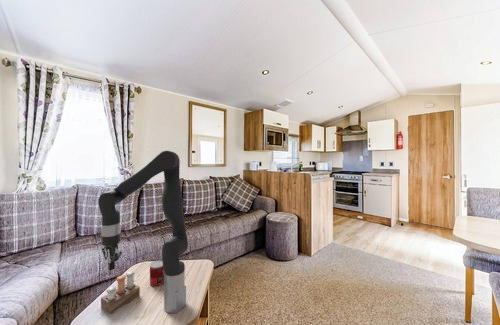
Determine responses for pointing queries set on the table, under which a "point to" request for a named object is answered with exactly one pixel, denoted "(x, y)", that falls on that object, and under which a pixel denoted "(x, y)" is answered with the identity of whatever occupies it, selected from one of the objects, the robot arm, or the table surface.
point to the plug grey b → (130, 279)
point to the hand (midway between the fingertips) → (111, 269)
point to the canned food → (156, 273)
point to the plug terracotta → (121, 284)
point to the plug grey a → (111, 292)
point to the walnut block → (120, 299)
